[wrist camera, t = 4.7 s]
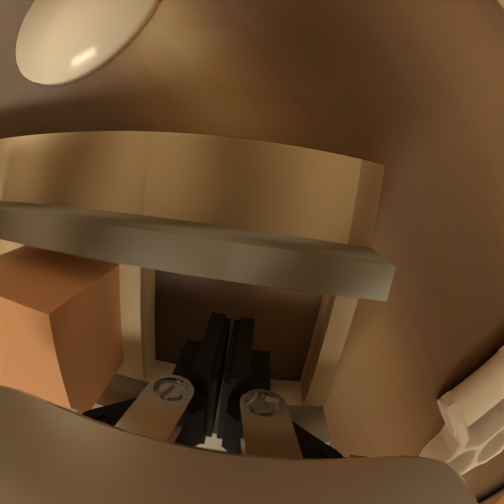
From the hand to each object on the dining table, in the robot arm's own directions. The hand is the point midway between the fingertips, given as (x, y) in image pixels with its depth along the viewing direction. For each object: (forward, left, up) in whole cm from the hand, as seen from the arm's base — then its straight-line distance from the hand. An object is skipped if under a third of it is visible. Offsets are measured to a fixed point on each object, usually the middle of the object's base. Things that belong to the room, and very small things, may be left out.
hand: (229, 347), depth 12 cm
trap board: (+10, 0, -3) cm, 10 cm away
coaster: (+11, -16, -3) cm, 20 cm away
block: (+8, 0, -1) cm, 8 cm away
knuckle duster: (-23, +6, -3) cm, 24 cm away
